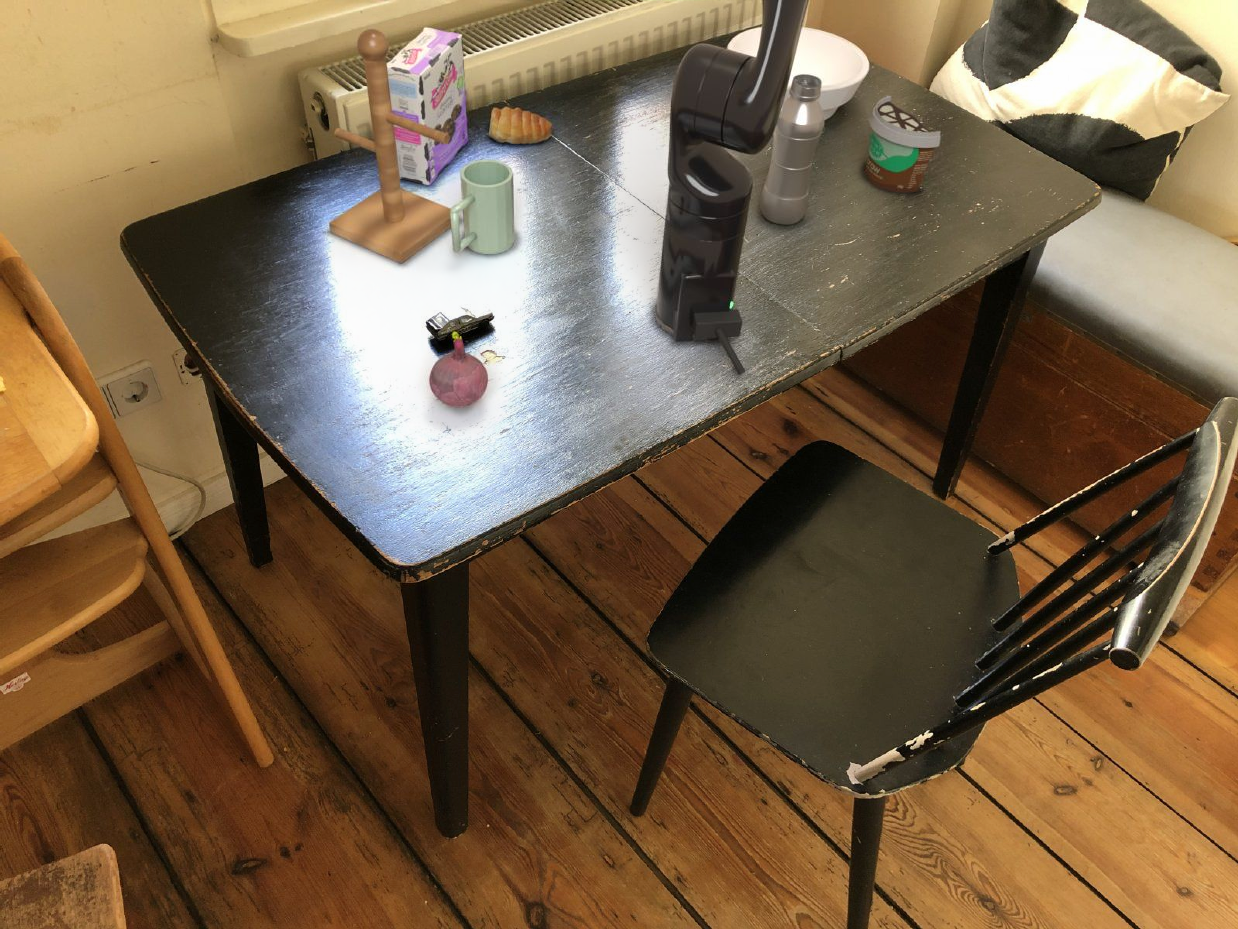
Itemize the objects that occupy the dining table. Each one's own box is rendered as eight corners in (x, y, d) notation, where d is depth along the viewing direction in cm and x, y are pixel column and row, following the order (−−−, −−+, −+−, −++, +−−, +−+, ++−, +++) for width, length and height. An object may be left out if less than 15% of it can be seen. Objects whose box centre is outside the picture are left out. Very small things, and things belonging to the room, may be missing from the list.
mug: (484, 220, 136) (481, 153, 129) (524, 236, 134) (522, 169, 127) (435, 258, 130) (429, 189, 123) (476, 275, 128) (472, 207, 121)
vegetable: (498, 396, 113) (495, 326, 105) (471, 431, 109) (466, 361, 101) (451, 379, 114) (445, 309, 107) (422, 413, 110) (414, 343, 103)
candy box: (430, 187, 141) (420, 74, 129) (392, 178, 142) (378, 65, 130) (470, 141, 151) (464, 32, 139) (434, 133, 152) (425, 24, 140)
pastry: (552, 125, 155) (552, 102, 152) (550, 148, 150) (550, 125, 148) (491, 122, 155) (490, 99, 152) (487, 145, 150) (486, 121, 147)
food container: (840, 163, 152) (855, 100, 145) (872, 155, 154) (889, 93, 147) (890, 204, 145) (908, 141, 138) (923, 195, 147) (943, 132, 140)
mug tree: (483, 230, 135) (473, 35, 116) (426, 274, 127) (405, 74, 108) (378, 187, 141) (353, -5, 121) (318, 227, 133) (281, 29, 114)
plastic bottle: (802, 234, 138) (833, 95, 124) (754, 226, 139) (778, 88, 125) (806, 209, 143) (835, 72, 128) (759, 201, 143) (783, 65, 129)
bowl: (785, 62, 175) (794, 13, 169) (886, 114, 164) (899, 64, 157) (691, 96, 164) (697, 45, 158) (791, 155, 153) (802, 103, 147)
